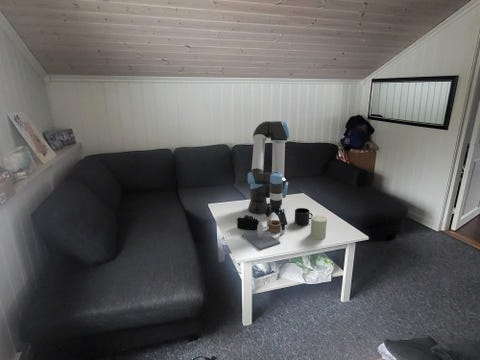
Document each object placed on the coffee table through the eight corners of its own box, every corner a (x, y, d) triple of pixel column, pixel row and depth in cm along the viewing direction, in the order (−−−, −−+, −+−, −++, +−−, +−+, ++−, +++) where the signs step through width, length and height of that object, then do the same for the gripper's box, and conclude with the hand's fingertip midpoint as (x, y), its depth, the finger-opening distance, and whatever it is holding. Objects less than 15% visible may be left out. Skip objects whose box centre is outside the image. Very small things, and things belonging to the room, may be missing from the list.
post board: (241, 235, 180) (241, 219, 177) (260, 230, 187) (260, 214, 184) (260, 250, 164) (260, 232, 161) (280, 243, 170) (280, 226, 167)
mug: (314, 225, 192) (315, 212, 189) (297, 226, 191) (297, 213, 188) (309, 219, 201) (310, 207, 198) (292, 220, 200) (293, 208, 197)
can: (308, 232, 183) (309, 214, 179) (322, 231, 183) (323, 214, 180) (312, 239, 174) (314, 221, 170) (328, 239, 174) (329, 220, 171)
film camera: (262, 225, 193) (262, 213, 191) (258, 232, 185) (258, 219, 182) (240, 222, 198) (239, 210, 196) (235, 229, 189) (235, 216, 187)
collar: (266, 229, 188) (266, 222, 187) (276, 226, 192) (276, 219, 191) (274, 234, 181) (274, 227, 180) (284, 230, 185) (284, 223, 184)
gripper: (259, 194, 189) (259, 224, 195) (284, 206, 168) (283, 239, 174) (268, 192, 192) (268, 221, 199) (294, 203, 172) (293, 236, 178)
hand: (275, 230), depth 186 cm, fingers open, 13 cm apart
